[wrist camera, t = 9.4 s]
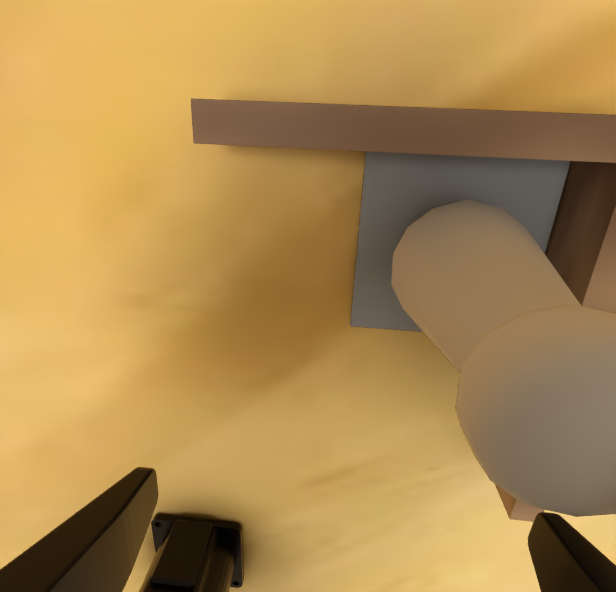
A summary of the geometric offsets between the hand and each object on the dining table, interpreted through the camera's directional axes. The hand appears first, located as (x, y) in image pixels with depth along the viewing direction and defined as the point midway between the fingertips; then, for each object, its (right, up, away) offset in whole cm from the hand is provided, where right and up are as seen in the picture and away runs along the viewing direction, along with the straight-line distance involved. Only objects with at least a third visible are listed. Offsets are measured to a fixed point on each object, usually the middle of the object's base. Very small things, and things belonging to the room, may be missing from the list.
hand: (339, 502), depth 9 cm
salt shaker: (+6, +7, +10) cm, 14 cm away
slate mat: (+6, +7, +10) cm, 14 cm away
